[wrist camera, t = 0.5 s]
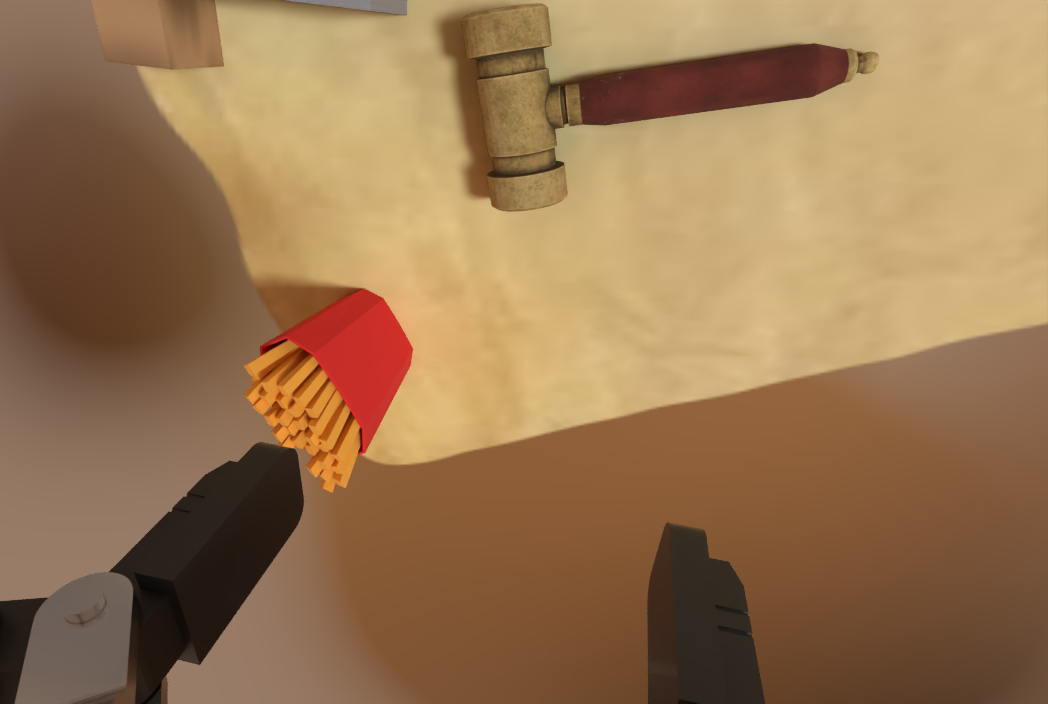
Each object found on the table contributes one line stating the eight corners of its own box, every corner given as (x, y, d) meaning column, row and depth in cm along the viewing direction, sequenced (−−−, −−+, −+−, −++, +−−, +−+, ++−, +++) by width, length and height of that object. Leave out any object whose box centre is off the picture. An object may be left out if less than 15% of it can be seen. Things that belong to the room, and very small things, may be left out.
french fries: (323, 291, 42) (207, 382, 31) (370, 271, 41) (266, 359, 29) (386, 392, 46) (303, 508, 34) (432, 377, 44) (360, 492, 33)
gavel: (917, -66, 25) (884, 170, 30) (872, -50, 29) (850, 155, 34) (451, 16, 28) (486, 216, 33) (469, 19, 32) (498, 197, 37)
